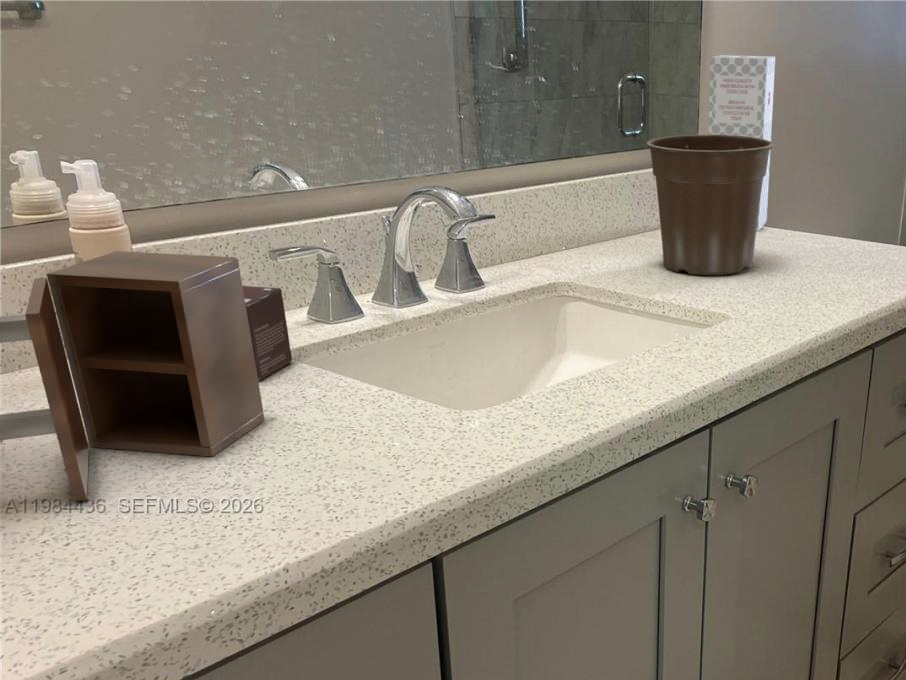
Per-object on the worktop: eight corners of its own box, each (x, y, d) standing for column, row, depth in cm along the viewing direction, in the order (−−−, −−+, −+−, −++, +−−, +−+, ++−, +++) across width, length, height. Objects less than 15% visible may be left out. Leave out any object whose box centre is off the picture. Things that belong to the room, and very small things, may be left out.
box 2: (705, 227, 165) (710, 57, 155) (716, 218, 173) (721, 55, 162) (758, 230, 164) (766, 58, 153) (766, 221, 171) (775, 56, 160)
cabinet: (212, 457, 80) (178, 281, 74) (89, 447, 81) (46, 273, 75) (265, 420, 87) (238, 257, 81) (151, 411, 88) (116, 250, 82)
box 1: (238, 357, 102) (225, 283, 99) (294, 362, 101) (283, 287, 98) (201, 377, 97) (186, 299, 93) (259, 382, 96) (246, 303, 92)
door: (-31, 518, 70) (-92, 324, 64) (-16, 462, 78) (-69, 286, 72) (87, 499, 72) (39, 312, 67) (88, 447, 81) (46, 277, 75)
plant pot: (668, 284, 132) (670, 150, 125) (631, 256, 145) (631, 135, 138) (785, 276, 136) (793, 147, 129) (739, 250, 150) (744, 133, 143)
